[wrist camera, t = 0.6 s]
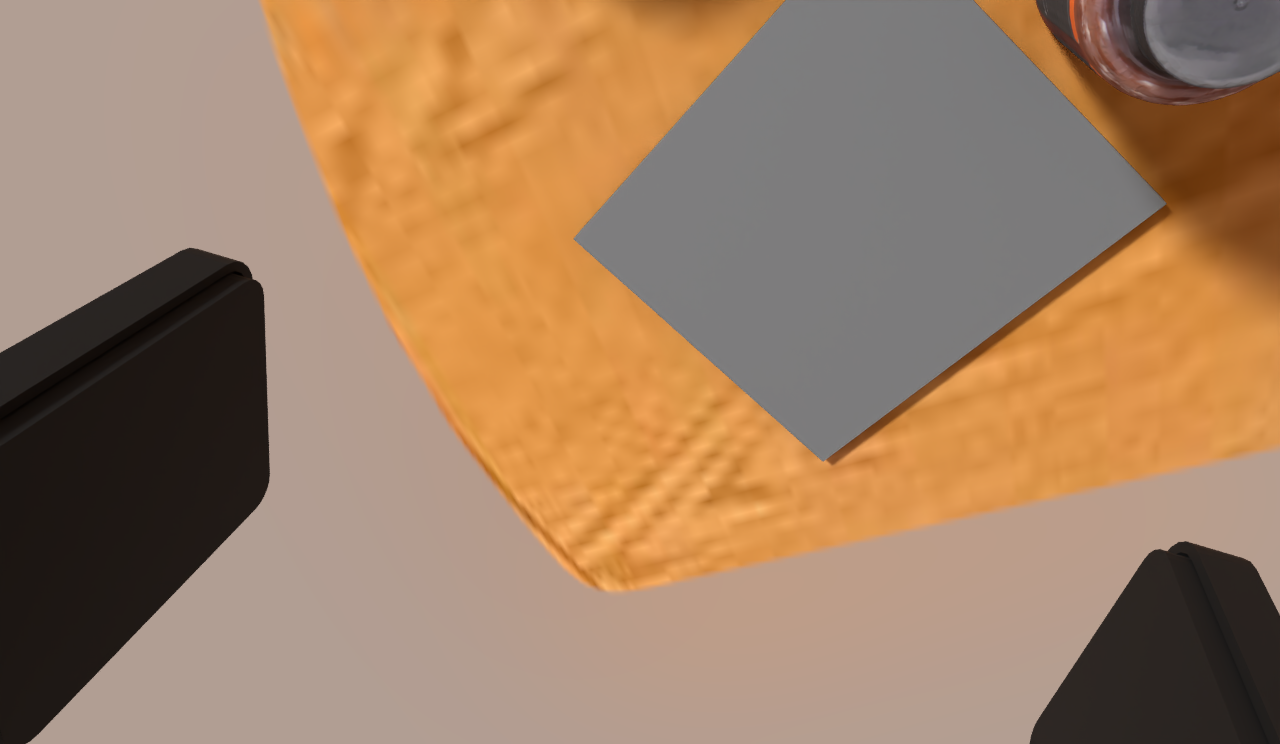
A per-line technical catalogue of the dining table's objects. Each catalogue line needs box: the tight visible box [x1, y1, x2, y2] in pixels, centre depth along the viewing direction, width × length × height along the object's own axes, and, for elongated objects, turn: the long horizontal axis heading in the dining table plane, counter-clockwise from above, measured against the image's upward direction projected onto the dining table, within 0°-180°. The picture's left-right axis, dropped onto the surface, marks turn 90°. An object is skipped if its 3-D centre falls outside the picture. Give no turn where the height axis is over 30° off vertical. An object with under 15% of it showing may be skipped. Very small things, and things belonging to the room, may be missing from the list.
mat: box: [574, 0, 1167, 461], centre depth 36 cm, size 17×15×1 cm
